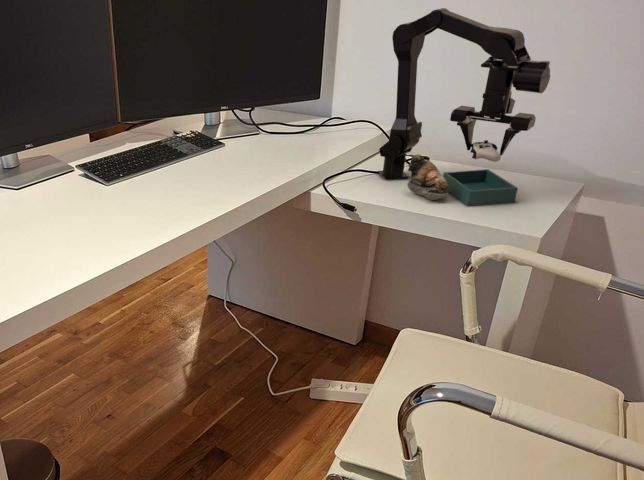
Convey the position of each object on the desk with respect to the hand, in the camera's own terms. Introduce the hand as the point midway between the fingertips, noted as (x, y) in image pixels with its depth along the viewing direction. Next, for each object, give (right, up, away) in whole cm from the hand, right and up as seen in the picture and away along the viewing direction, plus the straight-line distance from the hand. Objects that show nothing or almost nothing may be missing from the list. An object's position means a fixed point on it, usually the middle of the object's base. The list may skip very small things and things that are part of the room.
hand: (484, 152), depth 169 cm
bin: (+1, -9, +6) cm, 11 cm away
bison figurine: (-13, -10, +6) cm, 18 cm away
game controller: (0, -1, +1) cm, 1 cm away
